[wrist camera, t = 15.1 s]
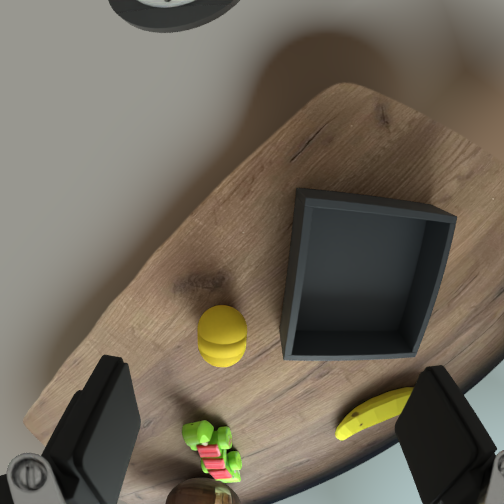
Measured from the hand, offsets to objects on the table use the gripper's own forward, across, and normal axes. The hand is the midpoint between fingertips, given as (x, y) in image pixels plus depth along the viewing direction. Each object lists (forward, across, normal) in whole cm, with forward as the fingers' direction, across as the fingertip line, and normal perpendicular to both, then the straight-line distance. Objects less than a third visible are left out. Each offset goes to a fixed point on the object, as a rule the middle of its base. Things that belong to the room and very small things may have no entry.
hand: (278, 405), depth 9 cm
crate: (+26, -12, +6) cm, 30 cm away
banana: (+26, -24, +32) cm, 48 cm away
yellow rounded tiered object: (+26, +4, +14) cm, 30 cm away
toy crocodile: (+26, +4, +40) cm, 48 cm away
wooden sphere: (+26, +6, +56) cm, 62 cm away
